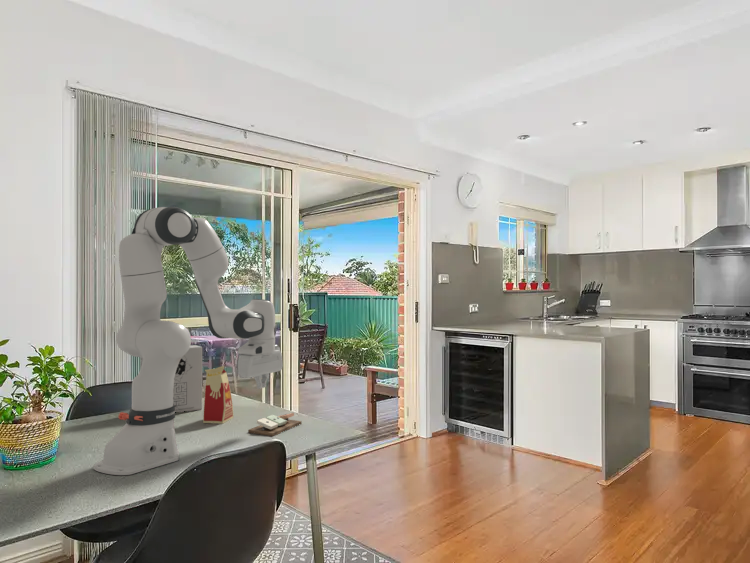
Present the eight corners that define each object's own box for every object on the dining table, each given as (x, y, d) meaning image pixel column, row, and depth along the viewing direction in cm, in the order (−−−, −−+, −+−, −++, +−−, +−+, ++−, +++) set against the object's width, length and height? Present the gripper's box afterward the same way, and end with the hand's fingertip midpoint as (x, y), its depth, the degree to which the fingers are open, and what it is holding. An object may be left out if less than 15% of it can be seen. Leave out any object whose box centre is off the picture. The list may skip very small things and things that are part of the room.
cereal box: (196, 406, 213) (197, 345, 214) (202, 409, 207) (202, 346, 207) (139, 413, 201) (140, 348, 201) (143, 417, 195) (144, 350, 195)
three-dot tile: (287, 418, 181) (287, 415, 181) (274, 420, 183) (273, 417, 183) (294, 415, 184) (293, 412, 185) (280, 418, 187) (279, 415, 187)
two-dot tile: (279, 425, 176) (280, 422, 176) (265, 419, 179) (265, 416, 179) (286, 423, 180) (286, 420, 180) (272, 417, 182) (272, 414, 182)
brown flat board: (273, 436, 169) (273, 429, 169) (248, 432, 174) (248, 425, 174) (301, 423, 185) (301, 417, 185) (278, 421, 189) (278, 414, 189)
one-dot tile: (270, 429, 172) (271, 426, 172) (256, 423, 174) (256, 420, 174) (277, 426, 175) (278, 423, 175) (263, 420, 178) (264, 417, 178)
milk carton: (233, 417, 194) (233, 363, 195) (224, 423, 185) (224, 367, 185) (210, 416, 195) (210, 363, 195) (199, 423, 186) (199, 367, 186)
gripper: (272, 343, 187) (272, 382, 187) (234, 349, 168) (234, 392, 168) (287, 344, 184) (286, 383, 184) (250, 350, 166) (250, 393, 165)
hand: (261, 387), depth 176 cm, fingers closed
